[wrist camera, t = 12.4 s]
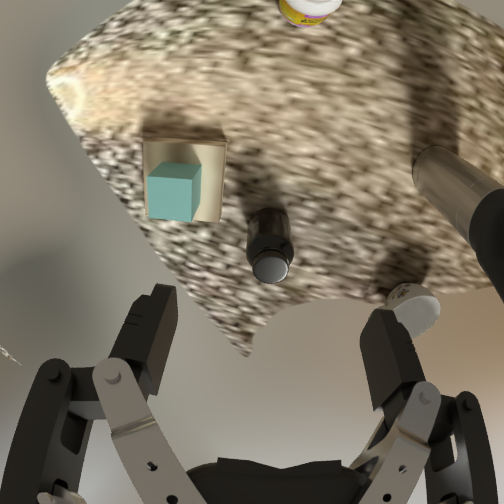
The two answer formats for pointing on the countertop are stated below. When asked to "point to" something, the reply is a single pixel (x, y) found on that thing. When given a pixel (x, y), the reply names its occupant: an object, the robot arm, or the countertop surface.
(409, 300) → the teacup
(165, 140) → the birch pedestal
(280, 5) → the supplement bottle
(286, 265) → the supplement bottle
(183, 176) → the teal cube
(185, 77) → the countertop surface
